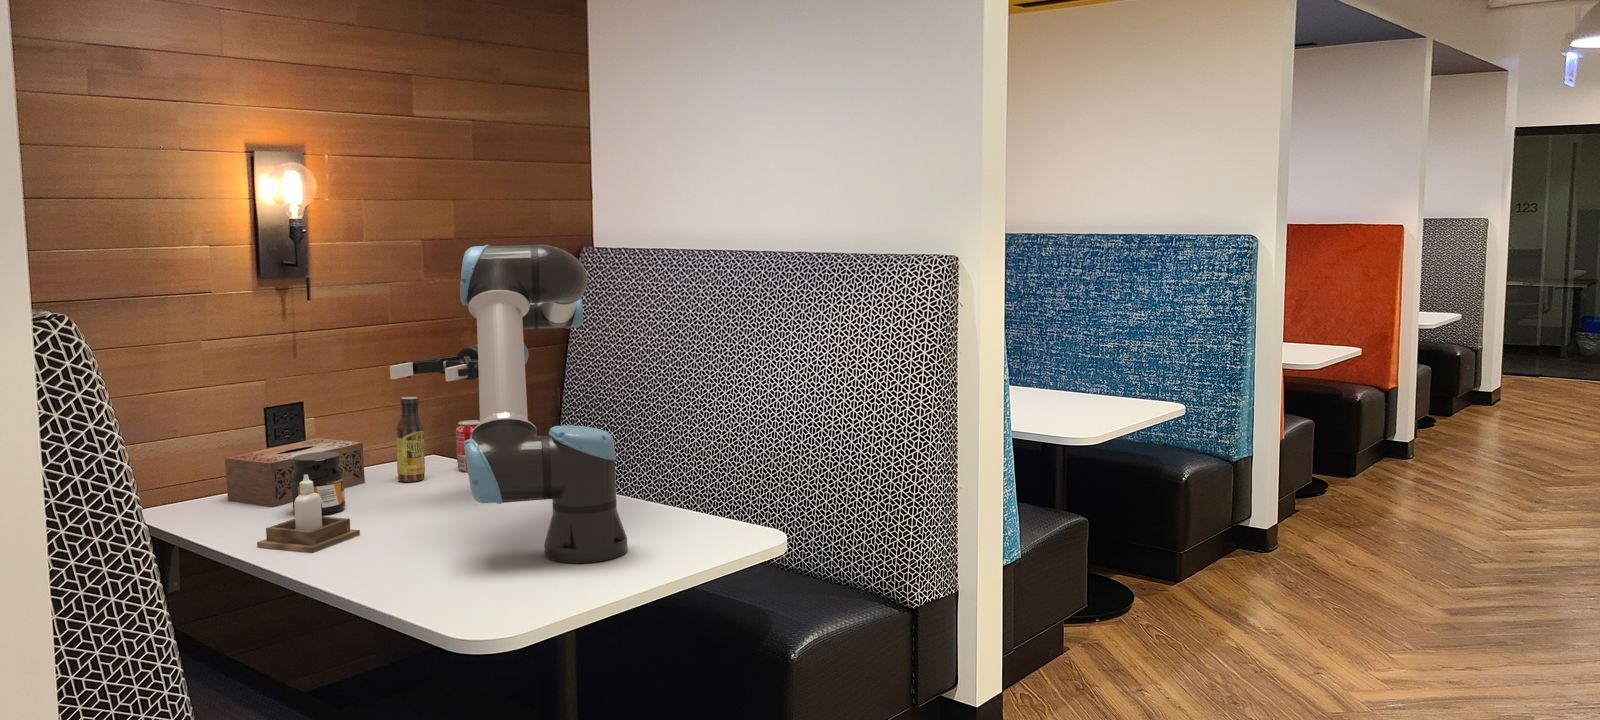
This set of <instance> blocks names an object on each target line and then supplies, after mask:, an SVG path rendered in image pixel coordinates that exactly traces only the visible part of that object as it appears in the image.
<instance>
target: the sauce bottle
mask: <svg viewBox="0 0 1600 720" xmlns="http://www.w3.org/2000/svg"><path fill="white" fill-rule="evenodd" d="M419 401H420V400H419V397H417V396H404V397H400V404H401V405H400V406H401V413H400V414H401V418H400V420H399V421H398V423H397V425H396V426H397V427H396V466H397V471H396V472H397V479H398V481H399V482H403V483H412V482H413V483H414V482H420V481H422V480H424V479H425V472H426V467H425V466H426V464H425V463H426V461H425V459H426V458H425V431H424V428H423V425H422V423H421V421H420V417H419Z"/></svg>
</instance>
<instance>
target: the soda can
mask: <svg viewBox="0 0 1600 720" xmlns="http://www.w3.org/2000/svg"><path fill="white" fill-rule="evenodd" d="M479 423H480V419H469V420H468V419H467V420H460V421H458V422H457V424H458V425H457V427H456V429H455V443H456V444H455V445H456V447H455V448H456V464H457V468H458V469H459V470H461V472H463V473H464V472H466V473H468V469H467V463H466V457H465V450H464V442H465V441H466V440H468V439H472V431H473V429H474V428H475V427H476V426H477V425H478V424H479Z"/></svg>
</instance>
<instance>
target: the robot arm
mask: <svg viewBox="0 0 1600 720" xmlns="http://www.w3.org/2000/svg"><path fill="white" fill-rule="evenodd" d="M461 264H462V265H461V273H460V276H461V277H460V286H459V287H460V289H459V293H460V302H461V304H462V305H464V306H466V307H468V312H469V313H470V315H471V316H472V317H474V318H475V319H476V327H477V328H476V330H477V331H476V333H477V337H476V338H477V344H474V345H469V346H464V347H462V348H461V349H459V350H458V352H457V354H456V355H451V356H450V357H441V356H440V357H437V358H436V357H435V358H430V359H427V358H426V359H417V360H409V361H406V360H405V361H404V360H403V361H402V362H401V363H399V364H394V365H389V375H390V376H389V378H390V380H396V379H400V378H401V379H402V378H405V377H407V378H408V379H409V378H411V377H412V376H414V375H416V374H417V375H418V374H428V373H429V374H430V373H439V374H440V375H444V377H445V382H452V381H458V380H461V379H465V380H467V381H475V380H478V394H479V395H478V398H479V420H480V423H479V424H478V425H477V426H476V427H475V428H474V429H473V431H472V439H468V440H466V441H465V442H464V450H465V457H466V463H467V469H468V472H467V474H468V481H469V486H470V490H471V495H472V498H473V499H474V500H475V501H476V502H477V503H480V504H498V505H501V504H504V503H505V504H506V503H507V504H508V503H516V502H517V503H518V502H530V501H543V500H544V501H546V500H552V515H551V517H550V522H549V525H548V529H547V532H546V535H545V540H544V543H543V545H544V546H543V547H544V556H545V558H547V559H549V560H551V561H554V562H560V563H568V564H587V563H597V562H604V561H608V560H612V559H615V558H618V557H620V556H623V555H624V554H626V553H627V551H628V537H627V534H626V531H625V528H624V526H623V524H622V521H621V517H620V514H619V512H618V508H617V483H616V481H617V479H616V460H617V455H616V449H615V440H614V437H613V436H612V434H611V433H609V432H608V431H606V430H603V429H600V428H595V427H590V426H584V425H583V426H582V425H568V424H567V425H554V426H553V427H550V429H549V431H548V435H538V432H537V427H536V425H535V424H533V423H532V422H531V421H529V420H528V418H529V417H528V403H527V402H528V400H527V385H526V384H527V382H526V379H527V378H526V364H527V362H528V361H529V360H528V359H529V355H530V354H529V350H528V348H527V345H526V344H525V342H524V330H534V329H535V330H536V329H572V328H580V327H581V326H582V325H583V323H584V322H583V320H584V308H583V306H584V304H583V300H582V297H584V294H585V292H586V290H587V287H588V277H589V276H588V273H587V270H586V269H585V267H584V265H583V263H582V262H581V261H580V260H579V259H578V258H577V257H575V256H574V255H573V254H572V253H570V252H568V251H566V250H564V249H562V248H560V247H558V246H557V247H556V246H552V245H549V244H548V245H547V244H530V245H529V244H526V245H523V244H522V245H519V244H517V245H493V246H492V245H491V244H485V245H480V246H479V245H478V246H477V245H476V246H471V247H469V248H468V249H466V250H465V252H464V254H463V259H462V263H461ZM444 367H445V369H444Z"/></svg>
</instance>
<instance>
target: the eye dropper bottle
mask: <svg viewBox="0 0 1600 720" xmlns="http://www.w3.org/2000/svg"><path fill="white" fill-rule="evenodd" d="M313 492H314V488H313V481H310V480H309V477H308V475H304V478H303V481H302V482H300V493H301V494H300V495H299V496H298V497H297V498H296V499H295V502H294V509H295V512H294V519H295V526H296V529H297V530H308V531H311V530H314V529H317V528H320V527H322V516H323V515H322V513H321V499H320V495H319V494H317V493H313Z"/></svg>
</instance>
